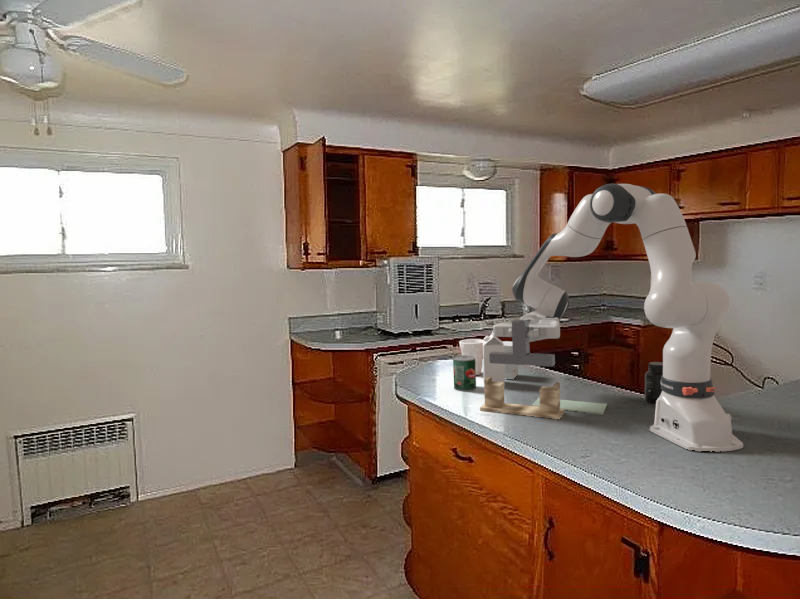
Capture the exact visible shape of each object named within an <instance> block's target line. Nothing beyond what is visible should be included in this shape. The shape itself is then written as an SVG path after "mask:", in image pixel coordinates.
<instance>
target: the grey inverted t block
mask: <svg viewBox="0 0 800 599" xmlns="http://www.w3.org/2000/svg"><path fill="white" fill-rule="evenodd" d="M511 323H512V337H511V340H512V341H511V342H512V345H513V352H491V353H489V358H490V363H496V364H514V365H518V366H519V365H520V366H532V367H533V366H536V367H537V366H539V367H554V366H555V364H556V357H555V353H533V352H532V353H531V350H530V349H531V348H530V341H529V337H527V334H526V332H527V331H529V320H519V319H514V320H512V321H511Z"/></svg>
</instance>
